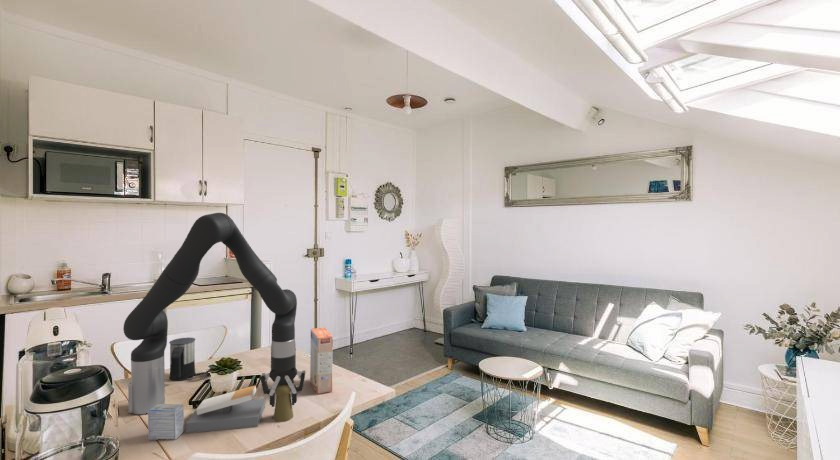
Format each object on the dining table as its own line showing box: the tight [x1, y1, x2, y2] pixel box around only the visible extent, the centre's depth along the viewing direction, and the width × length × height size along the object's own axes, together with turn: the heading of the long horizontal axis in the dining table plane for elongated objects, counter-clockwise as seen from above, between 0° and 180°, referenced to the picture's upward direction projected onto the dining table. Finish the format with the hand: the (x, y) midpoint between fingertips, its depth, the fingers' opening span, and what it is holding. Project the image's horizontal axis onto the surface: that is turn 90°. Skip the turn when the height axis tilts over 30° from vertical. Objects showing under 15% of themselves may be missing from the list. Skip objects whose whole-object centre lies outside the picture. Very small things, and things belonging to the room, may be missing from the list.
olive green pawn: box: [273, 385, 294, 423], centre depth 127 cm, size 6×6×11 cm
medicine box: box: [147, 403, 185, 441], centre depth 116 cm, size 8×4×9 cm, turn 92°
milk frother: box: [168, 337, 211, 382], centre depth 159 cm, size 14×16×15 cm
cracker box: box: [309, 327, 334, 395], centre depth 151 cm, size 14×6×21 cm, turn 25°
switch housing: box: [185, 397, 266, 434], centre depth 126 cm, size 20×13×5 cm, turn 102°
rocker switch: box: [195, 385, 257, 415], centre depth 125 cm, size 16×7×2 cm, turn 102°
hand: (283, 404), depth 127 cm, fingers open, 5 cm apart
